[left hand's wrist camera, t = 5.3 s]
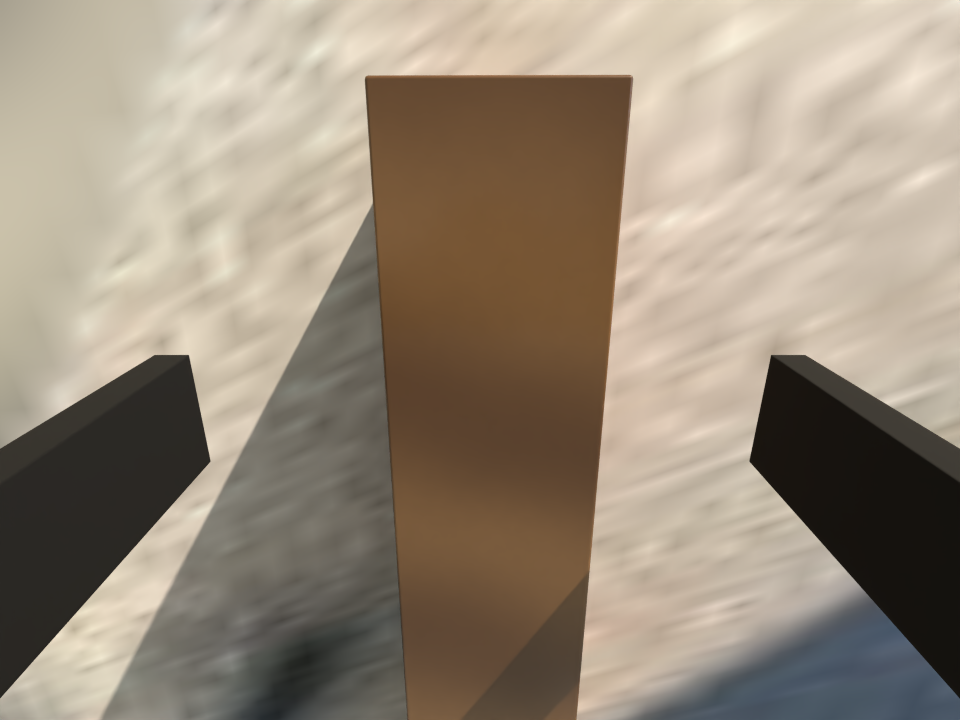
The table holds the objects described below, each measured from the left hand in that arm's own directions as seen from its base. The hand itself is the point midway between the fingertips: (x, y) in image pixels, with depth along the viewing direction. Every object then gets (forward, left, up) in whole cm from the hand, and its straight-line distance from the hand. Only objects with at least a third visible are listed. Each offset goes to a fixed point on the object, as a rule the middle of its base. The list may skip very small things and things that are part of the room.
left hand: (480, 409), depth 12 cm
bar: (+9, +29, -8) cm, 31 cm away
